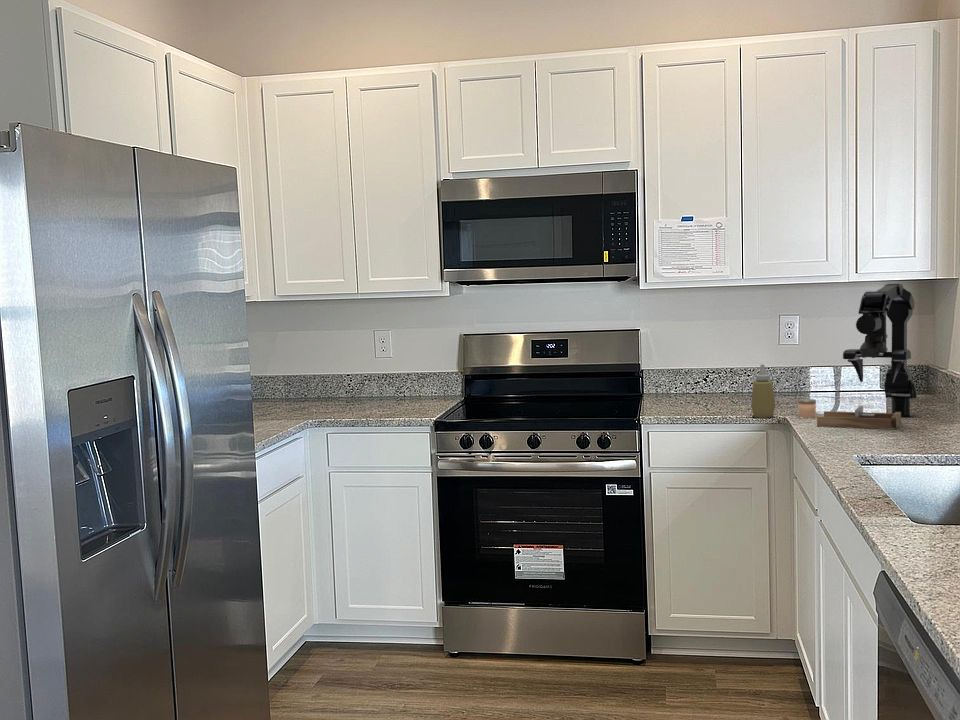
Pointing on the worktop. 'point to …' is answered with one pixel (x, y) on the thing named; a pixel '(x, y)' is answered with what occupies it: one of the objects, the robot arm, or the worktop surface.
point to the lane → (859, 420)
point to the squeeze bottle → (763, 395)
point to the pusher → (860, 413)
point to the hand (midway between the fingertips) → (876, 382)
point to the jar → (807, 408)
